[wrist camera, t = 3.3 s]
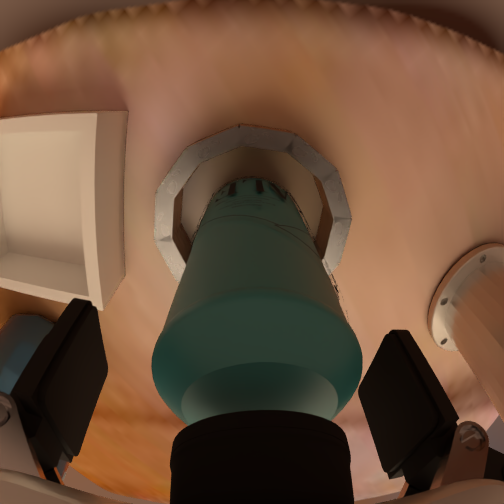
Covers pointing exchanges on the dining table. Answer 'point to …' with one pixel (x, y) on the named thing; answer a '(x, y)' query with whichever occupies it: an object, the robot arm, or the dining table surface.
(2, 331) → the wine bottle
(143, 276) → the dining table surface
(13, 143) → the bin
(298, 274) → the beverage bottle
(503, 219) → the dining table surface
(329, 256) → the holder ring
